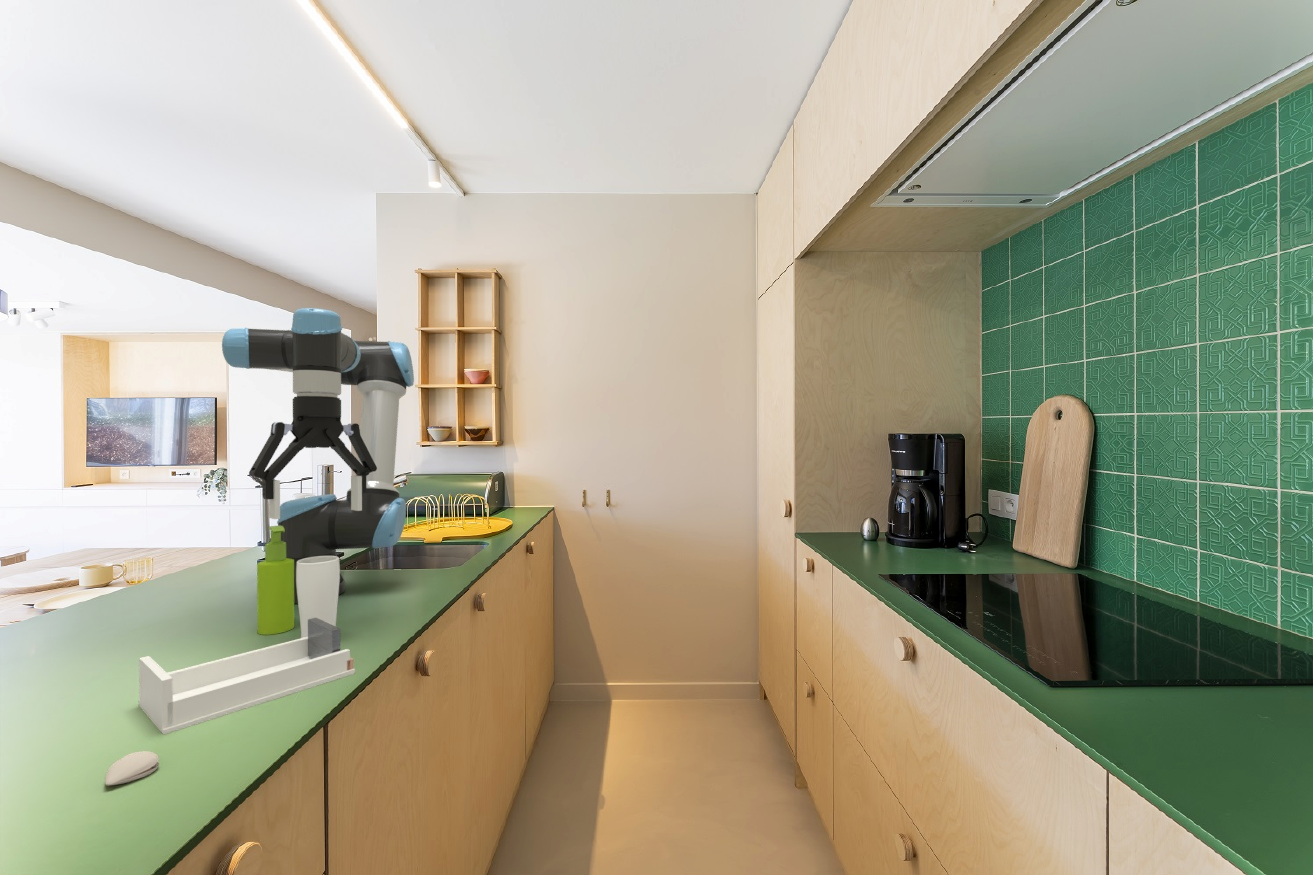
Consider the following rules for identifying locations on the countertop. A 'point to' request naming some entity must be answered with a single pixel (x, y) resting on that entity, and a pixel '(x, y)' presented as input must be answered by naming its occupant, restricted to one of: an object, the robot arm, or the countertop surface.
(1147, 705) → the countertop surface
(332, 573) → the white tumbler cup
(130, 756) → the clam shell
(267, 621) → the soap dispenser
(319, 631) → the pusher plate
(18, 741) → the countertop surface
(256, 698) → the pusher lane
